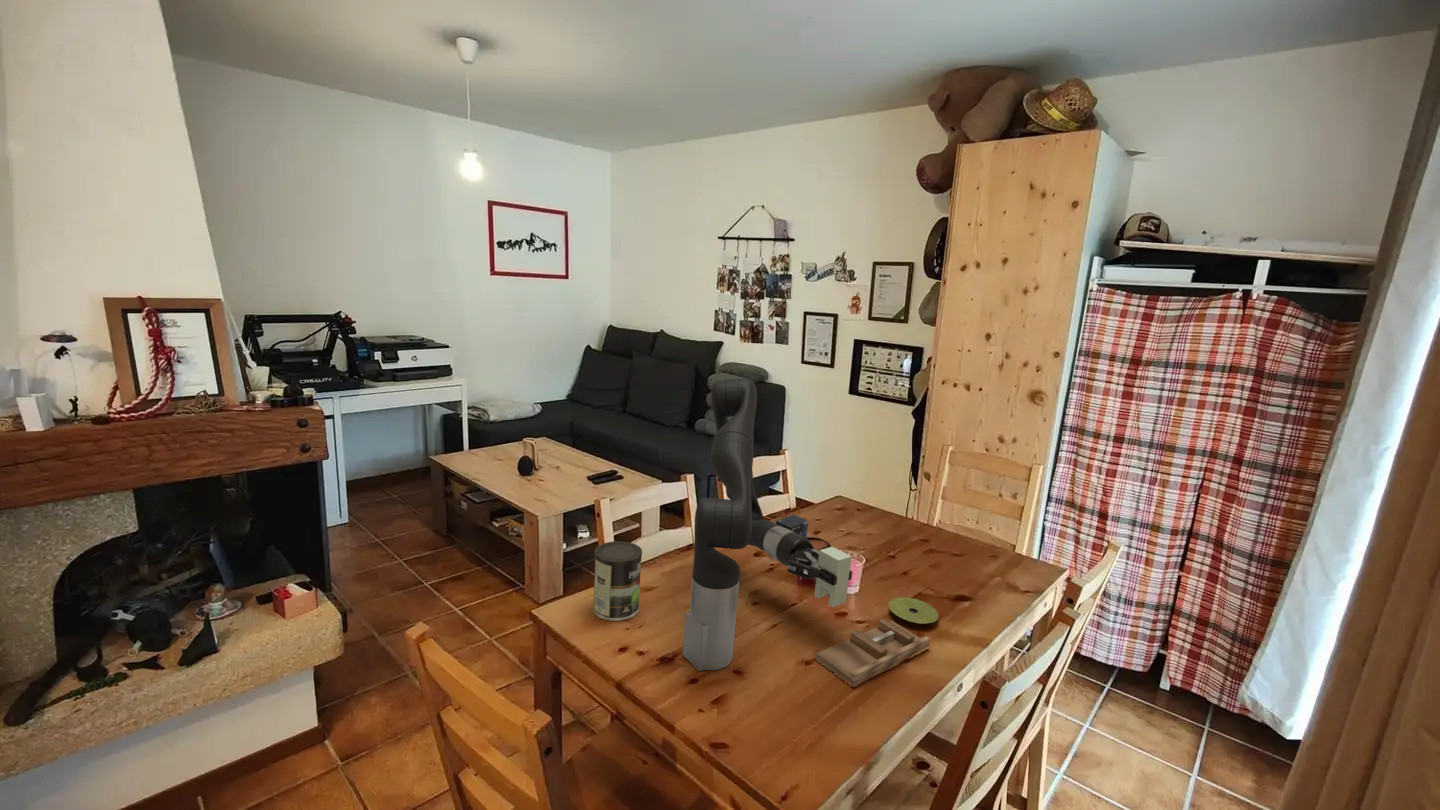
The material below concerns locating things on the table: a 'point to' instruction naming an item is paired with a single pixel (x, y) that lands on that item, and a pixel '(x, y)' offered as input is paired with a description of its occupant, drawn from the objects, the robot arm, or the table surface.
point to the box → (794, 524)
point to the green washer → (913, 610)
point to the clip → (840, 567)
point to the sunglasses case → (817, 541)
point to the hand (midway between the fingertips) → (843, 578)
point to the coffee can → (617, 580)
